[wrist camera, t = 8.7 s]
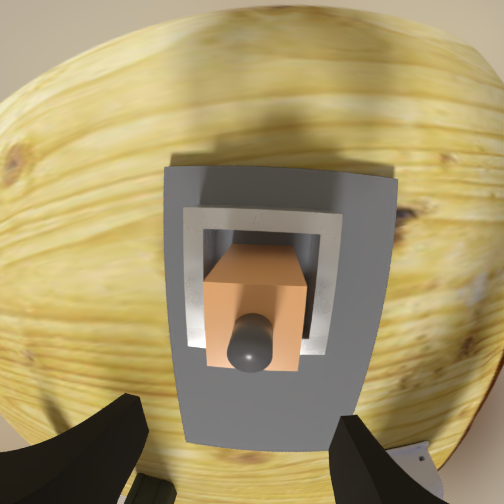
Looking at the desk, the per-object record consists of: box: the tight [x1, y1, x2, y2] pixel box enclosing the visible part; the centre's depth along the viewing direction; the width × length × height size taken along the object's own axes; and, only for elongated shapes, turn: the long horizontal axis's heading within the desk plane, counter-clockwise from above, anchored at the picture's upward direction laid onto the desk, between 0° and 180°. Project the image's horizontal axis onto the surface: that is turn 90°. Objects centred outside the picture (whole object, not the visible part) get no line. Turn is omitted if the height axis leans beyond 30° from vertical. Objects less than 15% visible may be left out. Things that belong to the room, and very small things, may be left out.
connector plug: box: [203, 244, 307, 373], centre depth 12 cm, size 4×4×9 cm
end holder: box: [183, 204, 343, 355], centre depth 15 cm, size 8×8×3 cm
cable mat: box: [164, 166, 398, 452], centre depth 18 cm, size 14×23×1 cm, turn 178°
